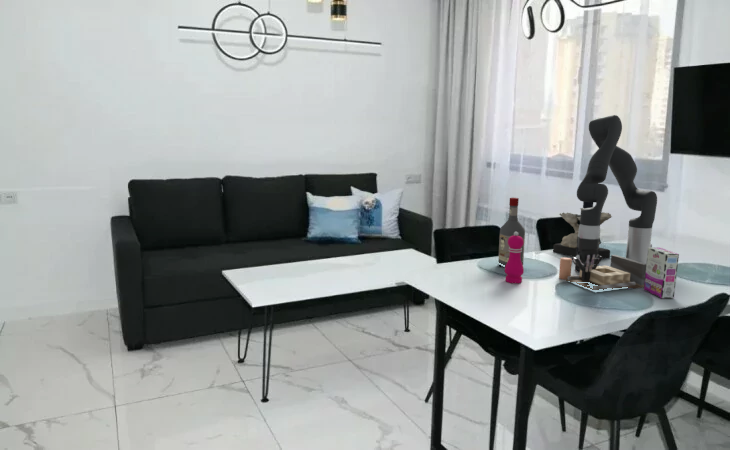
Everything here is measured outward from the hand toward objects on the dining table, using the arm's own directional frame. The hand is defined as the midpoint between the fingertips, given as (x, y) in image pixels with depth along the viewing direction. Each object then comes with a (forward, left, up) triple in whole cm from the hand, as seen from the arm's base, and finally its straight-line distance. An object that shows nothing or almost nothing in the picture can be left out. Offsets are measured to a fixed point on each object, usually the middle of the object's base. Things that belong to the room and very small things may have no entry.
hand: (585, 280), depth 205 cm
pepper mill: (+22, -15, -2) cm, 27 cm away
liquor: (+10, -35, -2) cm, 36 cm away
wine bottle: (-15, -19, -2) cm, 24 cm away
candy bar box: (-19, +16, -2) cm, 25 cm away
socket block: (-9, 0, -1) cm, 9 cm away
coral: (-37, -45, -3) cm, 58 cm away
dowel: (0, -12, -2) cm, 12 cm away
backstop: (-9, 0, -2) cm, 9 cm away
